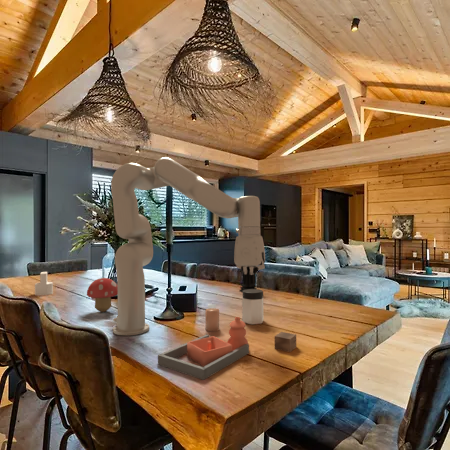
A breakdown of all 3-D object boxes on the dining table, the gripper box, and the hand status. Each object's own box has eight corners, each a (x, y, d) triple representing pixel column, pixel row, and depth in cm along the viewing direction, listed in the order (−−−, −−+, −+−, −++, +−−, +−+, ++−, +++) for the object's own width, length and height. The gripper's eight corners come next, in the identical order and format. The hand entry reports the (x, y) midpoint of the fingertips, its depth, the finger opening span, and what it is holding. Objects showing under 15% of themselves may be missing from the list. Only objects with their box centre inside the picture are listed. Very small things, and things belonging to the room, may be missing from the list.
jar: (268, 321, 130) (268, 290, 130) (255, 325, 124) (255, 293, 124) (250, 317, 136) (250, 288, 136) (237, 321, 130) (237, 290, 130)
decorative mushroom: (105, 306, 155) (105, 275, 155) (125, 310, 148) (125, 277, 148) (80, 313, 144) (80, 278, 144) (100, 317, 137) (100, 281, 137)
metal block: (274, 349, 100) (274, 336, 100) (281, 344, 105) (281, 331, 105) (290, 352, 98) (289, 339, 98) (296, 347, 102) (296, 334, 102)
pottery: (204, 368, 87) (204, 330, 87) (187, 356, 95) (187, 322, 95) (256, 352, 98) (256, 319, 98) (236, 343, 106) (236, 312, 106)
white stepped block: (35, 293, 190) (35, 272, 190) (53, 291, 193) (53, 271, 193) (33, 296, 181) (33, 274, 181) (52, 294, 185) (52, 273, 185)
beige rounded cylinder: (202, 329, 120) (202, 310, 120) (211, 326, 124) (211, 307, 124) (213, 332, 117) (213, 312, 117) (221, 328, 121) (221, 309, 121)
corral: (157, 364, 89) (157, 355, 89) (206, 342, 106) (206, 334, 106) (203, 379, 80) (203, 369, 80) (248, 353, 97) (248, 344, 97)
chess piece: (239, 291, 192) (239, 256, 193) (252, 290, 195) (251, 256, 195) (244, 293, 185) (244, 257, 185) (257, 292, 187) (257, 257, 187)
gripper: (225, 232, 114) (226, 285, 114) (263, 232, 106) (264, 289, 105) (237, 232, 120) (238, 282, 120) (274, 231, 112) (275, 286, 111)
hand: (250, 285), depth 113 cm, fingers closed
